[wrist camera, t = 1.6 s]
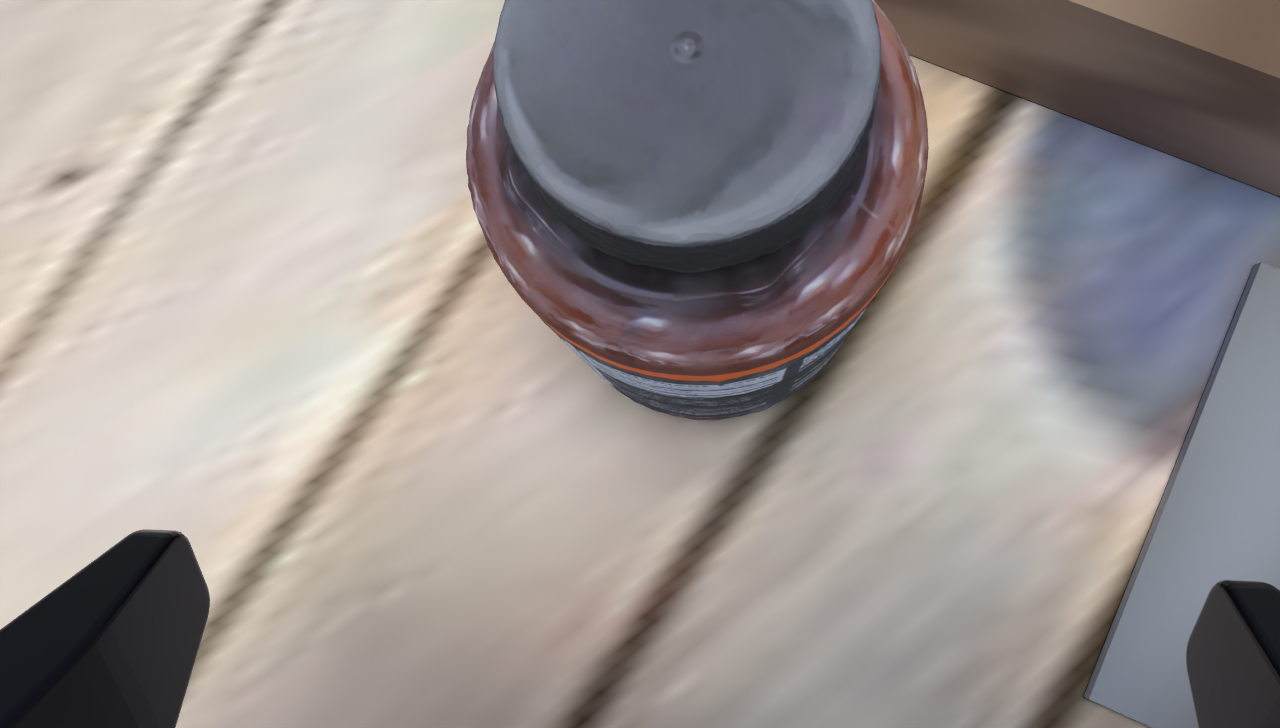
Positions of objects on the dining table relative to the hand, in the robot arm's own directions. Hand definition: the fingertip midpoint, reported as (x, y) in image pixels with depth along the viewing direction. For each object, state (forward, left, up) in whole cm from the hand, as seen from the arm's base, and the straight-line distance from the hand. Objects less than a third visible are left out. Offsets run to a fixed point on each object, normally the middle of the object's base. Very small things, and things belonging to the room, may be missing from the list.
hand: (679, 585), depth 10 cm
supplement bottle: (+5, -1, -12) cm, 13 cm away
